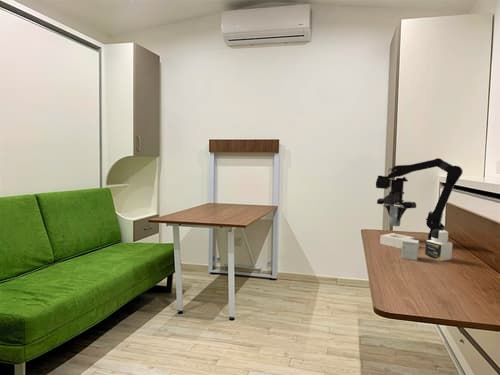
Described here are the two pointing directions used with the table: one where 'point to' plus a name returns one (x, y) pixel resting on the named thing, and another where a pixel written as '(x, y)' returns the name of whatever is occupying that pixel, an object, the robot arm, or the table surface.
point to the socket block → (393, 239)
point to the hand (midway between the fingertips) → (394, 219)
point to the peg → (394, 216)
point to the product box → (410, 249)
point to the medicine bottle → (438, 246)
